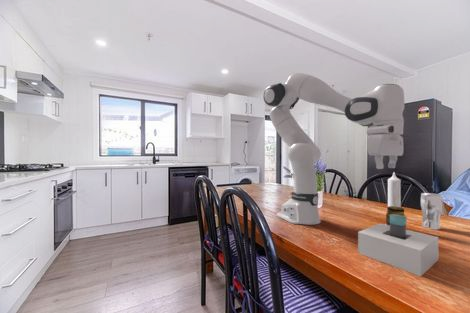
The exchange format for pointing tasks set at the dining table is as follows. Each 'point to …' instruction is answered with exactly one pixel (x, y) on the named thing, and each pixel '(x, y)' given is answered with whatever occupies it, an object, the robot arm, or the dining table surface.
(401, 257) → the socket block
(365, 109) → the robot arm
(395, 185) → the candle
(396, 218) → the dark gray rectangular block
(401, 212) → the condiment
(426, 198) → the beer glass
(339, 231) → the dining table surface
